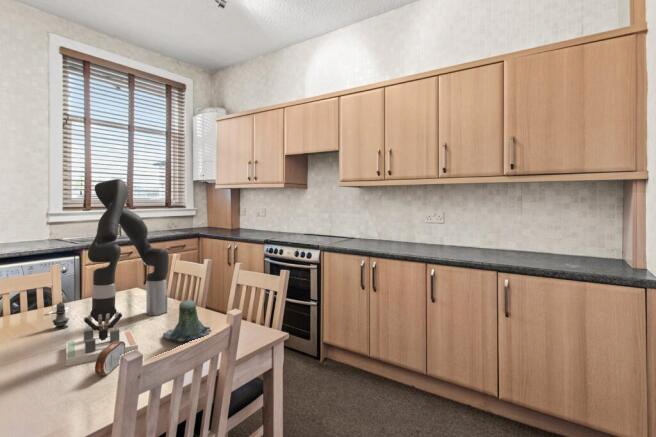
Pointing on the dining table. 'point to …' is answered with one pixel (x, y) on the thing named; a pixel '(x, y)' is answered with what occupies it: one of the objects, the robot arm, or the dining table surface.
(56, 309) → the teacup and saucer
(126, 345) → the board
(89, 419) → the dining table surface
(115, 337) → the block
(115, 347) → the tin
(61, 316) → the grey chess pawn
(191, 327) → the green bell-shaped piece
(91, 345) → the block
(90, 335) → the block
